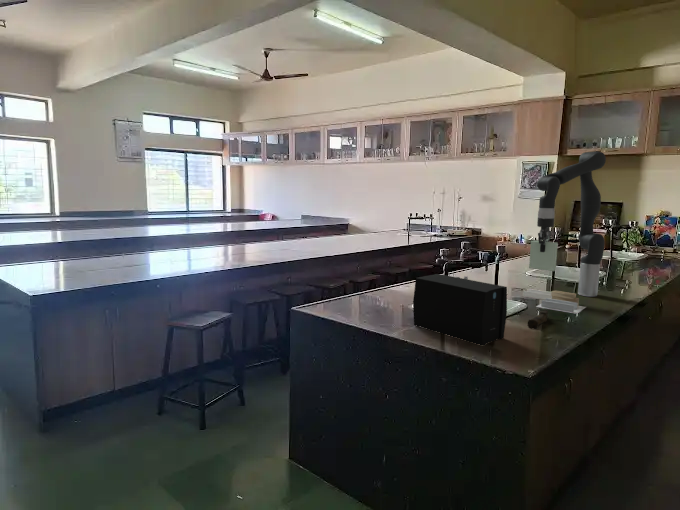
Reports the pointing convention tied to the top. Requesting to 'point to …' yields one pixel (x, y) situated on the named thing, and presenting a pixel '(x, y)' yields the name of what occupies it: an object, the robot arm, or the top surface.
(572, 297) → the offcut stack
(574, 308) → the grey rack
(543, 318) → the hand tool
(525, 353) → the top surface
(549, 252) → the sage board
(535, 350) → the top surface
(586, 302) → the top surface
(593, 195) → the robot arm
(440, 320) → the uninterruptible power supply
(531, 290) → the white stand
